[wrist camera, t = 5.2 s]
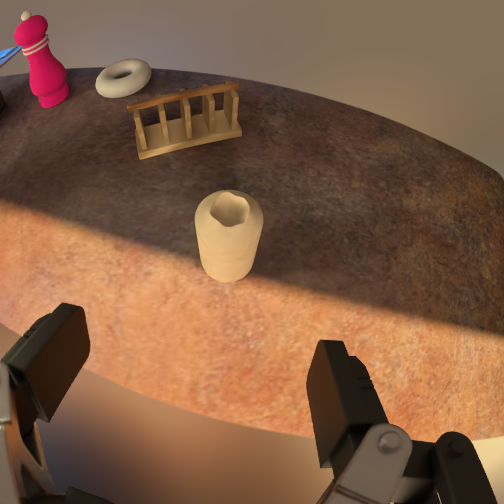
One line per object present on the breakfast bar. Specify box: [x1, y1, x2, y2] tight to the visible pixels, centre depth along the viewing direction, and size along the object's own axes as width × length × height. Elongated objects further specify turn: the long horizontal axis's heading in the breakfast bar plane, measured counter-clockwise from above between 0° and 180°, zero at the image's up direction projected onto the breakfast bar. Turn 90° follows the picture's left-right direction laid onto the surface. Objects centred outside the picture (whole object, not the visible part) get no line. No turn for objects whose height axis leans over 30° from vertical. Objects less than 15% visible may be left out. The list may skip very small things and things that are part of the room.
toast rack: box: [127, 80, 242, 160], centre depth 35 cm, size 14×5×8 cm, turn 109°
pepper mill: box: [14, 11, 70, 108], centre depth 32 cm, size 7×7×20 cm
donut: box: [96, 59, 151, 98], centre depth 42 cm, size 10×4×10 cm
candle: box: [195, 190, 263, 282], centre depth 28 cm, size 6×6×10 cm
